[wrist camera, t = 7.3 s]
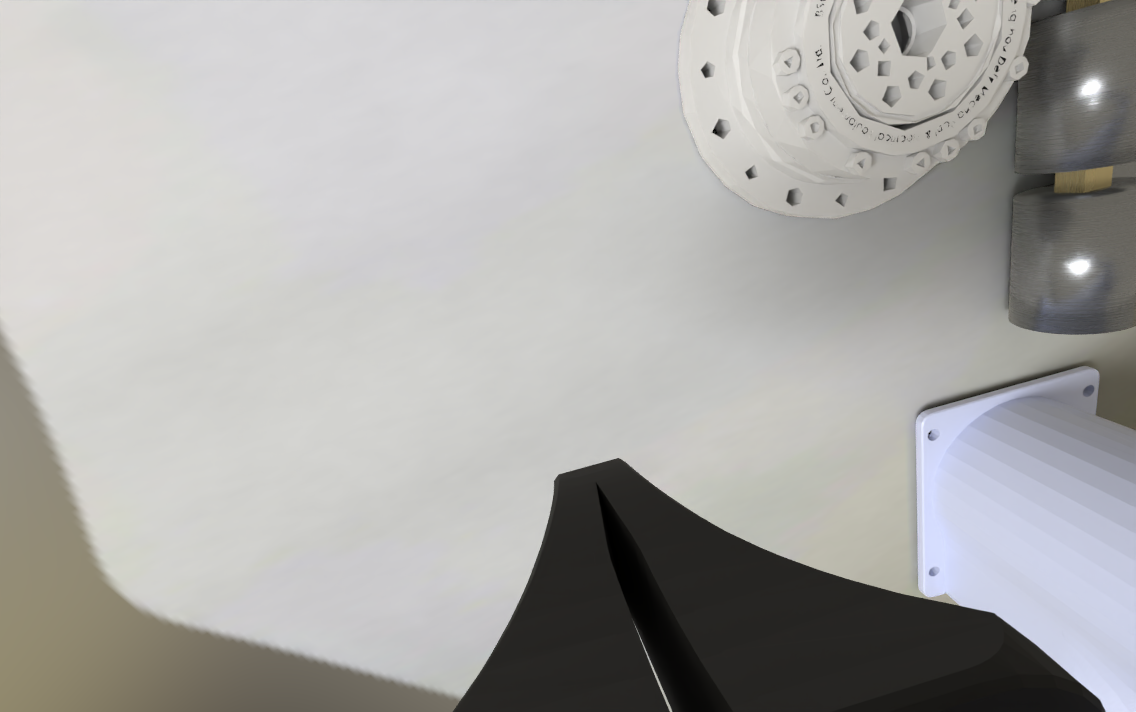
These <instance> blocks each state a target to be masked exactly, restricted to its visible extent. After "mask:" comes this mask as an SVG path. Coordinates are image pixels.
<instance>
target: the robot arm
mask: <svg viewBox="0 0 1136 712" xmlns="http://www.w3.org/2000/svg"><path fill="white" fill-rule="evenodd" d="M1099 378H1100V377H1099V372H1098V370H1097V369H1094V368H1091V367H1088V366H1081V367H1078V368H1074V369H1071V370H1067V371H1064V372H1060V373H1056V374H1053V375H1049V376H1046V377H1042V378H1039V379H1035V380H1031V381H1028V382H1024V383H1021V384H1017V385H1014V386H1010V387H1006V388H1003V389H999V390H996V391H992V392H989V393H985V394H981V395H978V396H974V397H971V398H967V399H964V400H960V401H957V402H953V403H949V404H946V405H942V406H939V407H935V408H932V409H928V410H925V411H923V412H922V413H921V414H920V415H919V416H918V418H917V419H916V473H917V534H918V587H919V590H920V591H921V592H922V593H923V594H924V595H925V596H927V597H935V596H938V595H941V594H945V593H946V594H948V595H949V596H950V597H951V598H952V599H953V600H954V601H955V602H957V603H958V604H959V605H960V606H958V605H953V604H948V603H943V602H938V601H933V600H928V599H923V598H918V597H914V596H909V595H904V594H900V593H896V592H892V591H889V590H885V589H881V588H878V587H874V586H870V585H867V584H863V583H859V582H856V581H852V580H849V579H845V578H842V577H839V576H836V575H833V574H829V573H826V572H823V571H820V570H817V569H814V568H812V567H809V566H806V565H803V564H801V563H798V562H795V561H792V560H790V559H787V558H784V557H782V556H779V555H777V554H774V553H772V552H769V551H767V550H765V549H762V548H760V547H758V546H756V545H754V544H751V543H749V542H747V541H745V540H743V539H741V538H739V537H736V536H734V535H732V534H730V533H728V532H726V531H724V530H722V529H721V528H719V527H717V526H715V525H714V524H712V523H710V522H708V521H707V520H705V519H703V518H702V517H700V516H698V515H697V514H695V513H693V512H692V511H690V510H689V509H687V508H686V507H684V506H683V505H681V504H680V503H678V502H677V501H675V500H674V499H672V498H671V497H669V496H668V495H667V494H665V493H664V492H662V491H661V490H659V489H658V488H657V487H655V486H654V485H653V484H651V483H650V482H649V481H648V480H646V479H645V478H644V477H642V476H641V475H640V474H639V473H638V472H636V471H635V470H634V469H633V468H632V467H630V466H629V465H628V464H627V463H626V462H624V461H623V460H621V459H619V458H617V459H614V460H610V461H606V462H603V463H599V464H595V465H592V466H588V467H585V468H581V469H577V470H574V471H570V472H566V473H563V474H559V475H558V476H557V478H556V479H555V481H554V495H553V502H552V507H551V512H550V516H549V520H548V524H547V527H546V531H545V535H544V538H543V542H542V545H541V548H540V551H539V554H538V556H537V559H536V562H535V565H534V567H533V570H532V573H531V576H530V578H529V581H528V583H527V585H526V588H525V590H524V592H523V594H522V597H521V599H520V601H519V603H518V605H517V607H516V609H515V611H514V613H513V615H512V617H511V619H510V621H509V623H508V625H507V627H506V629H505V631H504V632H503V634H502V636H501V638H500V639H499V641H498V643H497V645H496V647H495V648H494V650H493V652H492V654H491V655H490V657H489V659H488V660H487V662H486V664H485V665H484V667H483V668H482V670H481V672H480V673H479V675H478V676H477V678H476V679H475V681H474V682H473V683H472V685H471V686H470V688H469V689H468V691H467V692H466V694H465V695H464V696H463V698H462V699H461V701H460V702H459V704H458V705H457V706H456V708H455V709H454V711H453V712H670V711H669V709H668V706H667V704H666V702H665V699H664V697H663V695H662V692H661V690H660V687H659V685H658V683H657V680H656V678H655V675H654V673H653V670H652V668H651V665H650V663H649V660H648V658H647V655H646V653H645V650H644V647H645V649H646V651H647V653H648V656H649V658H650V660H651V663H652V665H653V667H654V670H655V672H656V674H657V676H658V679H659V681H660V683H661V686H662V688H663V690H664V693H665V695H666V697H667V700H668V702H669V704H670V706H671V709H672V712H1136V430H1134V429H1131V428H1128V427H1126V426H1123V425H1120V424H1118V423H1115V422H1112V421H1110V420H1107V419H1104V418H1102V417H1099V416H1096V407H1097V397H1098V388H1099ZM931 430H932V431H931ZM930 431H931V433H930V434H929V435H928V433H929V432H930ZM633 621H634V622H633ZM634 623H635V624H634ZM635 626H636V627H635ZM636 628H637V630H638V632H637V630H636ZM638 633H639V635H640V637H641V640H642V642H643V644H644V647H643V645H642V642H641V640H640V637H639V635H638Z"/></svg>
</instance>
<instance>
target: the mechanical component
mask: <svg viewBox="0 0 1136 712" xmlns="http://www.w3.org/2000/svg"><path fill="white" fill-rule="evenodd" d="M1039 1H1040V0H690V1H689V5H688V8H687V12H686V15H685V19H684V23H683V26H682V30H681V34H680V45H679V60H678V75H679V83H680V91H681V98H682V106H683V114H684V116H685V119H686V121H687V124H688V126H689V128H690V131H691V133H692V136H693V138H694V140H695V143H696V145H697V148H698V150H699V152H700V155H701V157H702V158H703V160H704V161H705V162H706V163H707V165H708V166H709V167H710V168H711V169H712V171H713V172H714V173H715V174H716V176H717V177H718V178H719V179H720V180H721V182H722V183H723V184H724V185H725V186H726V187H727V188H728V189H730V190H731V191H733V192H734V193H736V194H737V195H738V196H740V197H741V198H743V199H744V200H745V201H747V202H748V203H750V204H751V205H753V206H755V207H758V208H762V209H765V210H768V211H772V212H775V213H778V214H782V215H785V216H792V217H808V218H834V219H837V218H841V217H845V216H848V215H852V214H856V213H860V212H863V211H867V210H871V209H873V208H875V207H877V206H879V205H881V204H883V203H885V202H887V201H889V200H891V199H893V198H894V197H896V196H898V195H900V194H901V193H903V192H904V191H905V190H906V189H907V188H909V187H910V186H911V185H912V184H914V183H915V182H916V181H917V180H918V179H920V178H921V177H922V176H923V175H925V174H926V173H927V172H928V171H930V170H931V169H932V167H934V166H935V165H937V164H938V163H940V162H949V161H951V160H952V159H954V158H955V157H957V155H958V152H959V150H960V149H961V148H962V147H964V146H965V145H966V144H967V143H968V142H969V141H970V140H979V139H980V138H981V137H982V136H984V135H985V131H986V126H987V121H988V120H989V119H990V118H991V116H992V115H993V114H994V113H995V111H996V110H997V109H998V107H999V106H1000V104H1001V102H1002V101H1003V99H1004V97H1005V96H1006V94H1007V92H1008V91H1009V89H1010V87H1011V86H1012V84H1013V82H1014V81H1015V80H1019V79H1020V78H1021V77H1022V76H1024V75H1025V74H1026V73H1027V70H1028V65H1029V63H1028V61H1027V59H1026V57H1023V54H1024V51H1025V48H1026V45H1027V42H1028V40H1029V37H1030V25H1031V12H1032V6H1034V5H1036V4H1037V3H1038V2H1039ZM707 8H708V9H710V10H711V13H710V12H709V11H708V10H707ZM714 127H715V129H716V131H717V134H716V135H715V134H714V133H712V131H713V129H714Z"/></svg>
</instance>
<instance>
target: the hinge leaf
mask: <svg viewBox="0 0 1136 712" xmlns="http://www.w3.org/2000/svg"><path fill="white" fill-rule="evenodd" d="M1023 57H1026V59H1027V61H1028V63H1029V65H1028V70H1027V73H1026V74H1025V75H1024V76H1022V77H1021V78H1020V79H1019V81H1018V104H1017V128H1016V151H1015V173H1019V174H1049V173H1055V184H1054V185H1048V186H1043V187H1039V188H1034V189H1030V190H1027V191H1024V192H1021V193H1018V194H1016V195H1015V196H1014V198H1013V221H1012V245H1011V268H1010V292H1009V315H1008V318H1009V321H1010V322H1011V323H1013V324H1014V325H1016V326H1019V327H1021V328H1025V329H1028V330H1033V331H1038V332H1045V333H1054V334H1099V333H1108V332H1115V331H1120V330H1124V329H1128V328H1131V327H1134V326H1136V0H1067V5H1066V13H1064V14H1060V15H1057V16H1053V17H1050V18H1047V19H1043V20H1040V21H1037V22H1034V23H1031V25H1030V37H1029V40H1028V42H1027V45H1026V48H1025V51H1024V54H1023Z"/></svg>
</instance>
